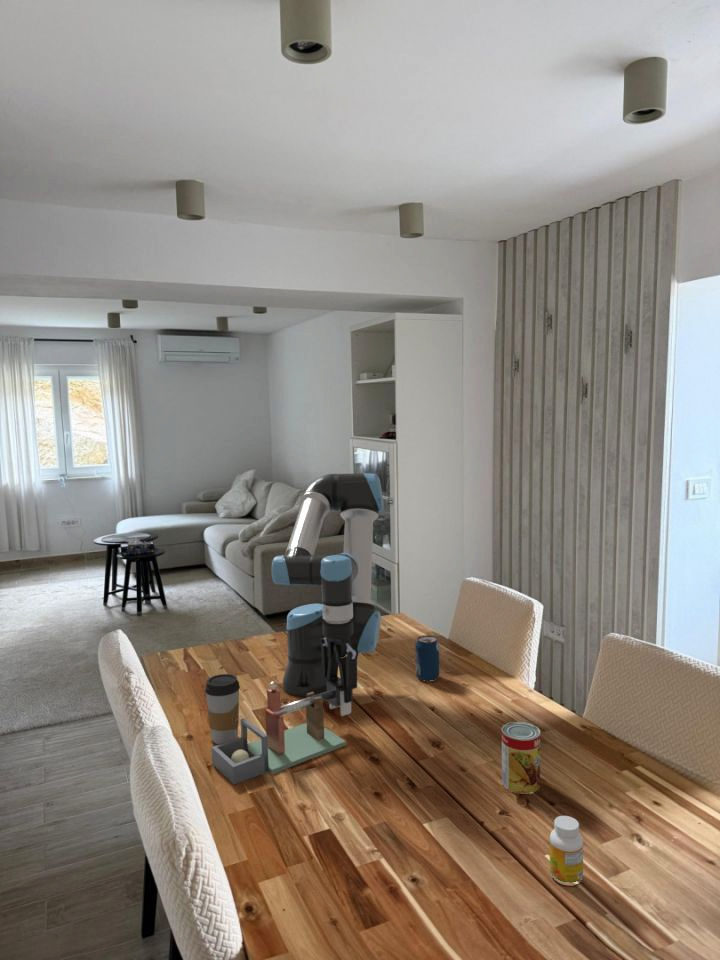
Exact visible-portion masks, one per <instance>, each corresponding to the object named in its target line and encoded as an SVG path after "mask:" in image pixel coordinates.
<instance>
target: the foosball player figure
mask: <svg viewBox="0 0 720 960" xmlns="http://www.w3.org/2000/svg"><path fill="white" fill-rule="evenodd" d="M314 695H315V694H314V692H310V693H307V694H306V696H305V697H306V698H308V697H311V696H314ZM305 713H306V714H305V715H306V717H305V718H306V719H305V721H306V723H307V733H308V734H309V735H311V736H312V737H314V738H315V739H317V740H321V739H324V727H325V716H324V715H325V714H324V713H325V712H324V707H323V702H322V697H321V696H320V697H317V698H314V705H311V706H308V707H305Z"/></svg>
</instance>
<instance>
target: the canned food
mask: <svg viewBox="0 0 720 960" xmlns="http://www.w3.org/2000/svg"><path fill="white" fill-rule="evenodd" d="M501 784H503V785H504V786H505V788H507V789H508V790H510V791H513V792H515V793H530V792H534V791H536V790H537V789H539V787H540V788H541V730H540V728H539V727H538V726H536V725H534V724H532V723H528V722H525V721H512V722H510V721H509V722H508V723H506V724H503V726H502V727H501ZM503 785H502V786H503ZM505 788H504V789H505ZM508 790H507V791H508ZM539 790H540V789H539ZM510 791H509V792H510ZM515 793H514V794H515Z"/></svg>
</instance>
